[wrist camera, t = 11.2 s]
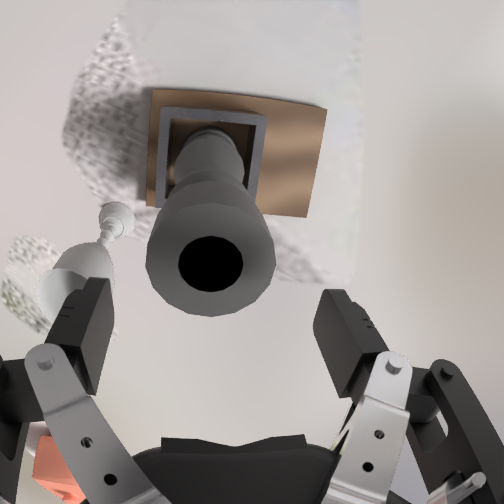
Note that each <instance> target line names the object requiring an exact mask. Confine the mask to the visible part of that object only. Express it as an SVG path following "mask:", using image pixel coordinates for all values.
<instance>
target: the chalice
mask: <svg viewBox="0 0 504 504" xmlns="http://www.w3.org/2000/svg"><path fill="white" fill-rule="evenodd" d="M99 223H100V228H101V231H102V232H101V235H100V237H101V238H99V239H98V240H97V243H96V242H93V243H83V244H79V245H76V246H74V247H71V248H69V249H68V250H66V251H65V252H64V253H63V254H62V256H61V257H60V259H59V260H58V261H57V263H56V264H55V266H54V267H53V269H52V270H48V271H46V272H45V273H44V274H43V275H41V276H40V277H39V279H38V282H37V284H36V299H37V302H38V306H39V307H40V309H41V311H42V313H43V314H44V316H45V317H46V318H47V319H48V320H49V321H50V322H51V323H52V325H53V323H54V321H55V319H56V317H57V316H58V313H59V311H60V309H61V308H62V305H63V303H64V301H65V299H66V297H67V296H68V295H69V294H71V293H72V292H73V291H74V290H75V289H81V290H83V288H84V286H85V284H86V282H87V280H88V278H89V277H101V278H109V279H110V283H111V292H113V289H114V285H115V278H114V269H113V263H112V261H111V258H110V255H109V253H108V249H109V246H110V243H112V242H113V241H114V239H120V238H123V237H126V236H128V235H129V234H130V233H131V232H132V231H133V229H134V227H135V217H134V214H133V212H132V211H131V209H130V208H129V207H128V206H126V205H125V204H123V203H120V202H112V203H108V204H107V205H105V206H104V207H103V208H102V210H101V211H100V215H99Z"/></svg>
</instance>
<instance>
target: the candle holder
mask: <svg viewBox="0 0 504 504" xmlns="http://www.w3.org/2000/svg"><path fill="white" fill-rule="evenodd" d="M173 174H174V179H175V183H176V186H175V187H174V189H173V190H172V192H171V193H170V195H169V197H168V199H167V201H166V203H165V204H164V206H163V207H162V209H161V210H160V212H159V214H158V215H157V218H156V221H155V224H154V227H153V230H152V232H151V235H150V238H149V241H148V245H147V255H146V265H145V266H146V270H147V273H148V275H149V278H150V281H151V284H152V286H153V288H154V289H155V290H156V291H157V292H158V293H159V294H160V295H161V297H162V298H163V299H164V300H165V301H166V302H167V303H168V304H170V305H172V306H174V307H176V308H178V309H180V310H182V311H184V312H186V313H188V314H194V315H201V316H209V317H214V316H220V315H225V314H231V313H235V312H237V311H239V310H240V309H242V308H244V307H246V306H248V305H250V304H252V303H253V302H255V301H256V300H257V299H258V298H259V296H260V295H261V294H262V293H263V292H264V291H265V289H266V288H267V287H268V286H269V285H270V282H271V279H272V276H273V273H274V270H275V266H276V258H275V250H274V243H273V240H272V237H271V235H270V232H269V230H268V227H267V225H266V222H265V220H264V218H263V215H262V213H261V212H260V210H259V208H258V207H257V205H256V204H255V202H254V201H253V199H252V198H251V196H250V194H249V193H248V191H247V190H246V188H245V187H244V185H243V184H242V181H243V177H244V167H243V160H242V158H241V157H240V155H239V153H238V152H237V146H236V144H235V142H234V140H233V139H232V137H231V136H230V134H229V133H228V132H226V131H225V130H223V129H222V128H220V127H216V126H211V125H208V126H203V127H198V128H197V129H195V130H194V131H192V132H191V133H190V134H189V135H188V136H187V138H186V139H185V141H184V142H183V145H182V147H181V152H180V154H179V156H178V157H177V159H176V162H175V167H174V173H173Z"/></svg>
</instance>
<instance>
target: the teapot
mask: <svg viewBox="0 0 504 504" xmlns="http://www.w3.org/2000/svg"><path fill="white" fill-rule="evenodd" d="M32 477H33V479H34V480H35V481H37V482H38V483H39V484H41V485H42V486H43V487H44V488H45V489H47V490H49V491H50V492H52V493H53V494H55V495H56V496H58V497H60V498H61V499H62V500H63V501H64V502H66V503H68V504H80V503H81V502H82V501H83V500H84V499H85V498H86V497H85V495H84V493H83V492H82V490H81V489H80V487H79V485H78V484H77V482H76V480H75V479H74V477H73V475H72V473H71V472H70V470H69V468H68V466H67V464H66V463H65V461H64V459H63V457H62V455H61V453H60V451H59V449H58V447H57V445H56V443H55V441H54V439H53V437H52V436H45V435H41V437H40V439H39V442H38V445H37V450H36V454H35V460H34V467H33V475H32Z"/></svg>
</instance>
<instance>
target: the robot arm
mask: <svg viewBox="0 0 504 504" xmlns="http://www.w3.org/2000/svg"><path fill="white" fill-rule="evenodd" d="M113 326H114V307H113V300H112V292H111V283H110V279H109V278H101V277H89V278H88V280H87V282H86V284H85V286H84V288H83V290H81V289H75V290H74V291H73V292H72V293H71V294H69V295H68V296H67V297H66V299H65V301H64V303H63V305H62V308H61V309H60V311H59V313H58V316H57V317H56V319H55V321H54V323H53V325H52V327H51V329H50V331H49V333H48V336H47V338H46V340H45V342H44V344H40V345H37V346H35V347H34V348H32V349H31V350H30V351H29V352H28V353H27V355H26V357H25V358H24V359H17V360H8V361H3V359H2V357H1V355H0V504H15V502H16V494H17V486H18V479H19V473H20V467H21V462H22V457H23V451H24V446H25V442H26V437H27V433H28V428H29V424H30V422H38V421H45V422H46V425H47V427H48V429H49V431H50V433H51V435H52V437H53V439H54V441H55V443H56V445H57V447H58V449H59V451H60V453H61V455H62V457H63V459H64V461H65V463H66V464H67V466H68V468H69V470H70V472H71V473H72V475H73V477H74V479H75V480H76V482H77V484H78V485H79V487H80V489H81V490H82V492H83V493H84V495H85V497H86V498H85V499H84V500H83V501H82V502H81V503H80V504H411V503H409V502H408V501H406V500H405V499H403V498H402V497H400V496H398V495H397V494H395V493H394V492H392V491H391V490H389V489H390V486H391V483H392V480H393V477H394V473H395V470H396V467H397V463H398V460H399V456H400V453H401V449H402V445H403V441H404V437H405V434H406V436H407V439H408V441H409V444H410V446H411V449H412V451H413V454H414V456H415V458H416V461H417V464H418V467H419V469H420V472H421V475H422V477H423V480H424V482H425V485H426V488H427V491H428V493H429V498H428V500H427V504H504V445H503V444H502V442H501V440H500V438H499V436H498V434H497V432H496V430H495V429H494V427H493V425H492V423H491V421H490V420H489V418H488V416H487V414H486V412H485V411H484V409H483V407H482V406H481V404H480V402H479V400H478V399H477V397H476V395H475V394H474V392H473V390H472V389H471V387H470V386H469V384H468V382H467V381H466V379H465V377H464V376H463V374H462V372H461V371H460V369H459V368H458V367H457V366H456V365H455V364H453V363H452V362H450V361H447V360H444V359H439V360H436V361H434V362H433V363H432V365H431V367H430V368H429V369H424V368H416V367H412V366H411V363H410V362H409V361H408V359H406V358H405V357H404V356H403V355H401V354H398V353H396V352H392V351H390V350H389V349H388V347H387V346H386V344H385V342H384V340H383V339H382V337H381V335H380V334H379V332H378V331H377V329H376V328H375V327H374V324H373V322H372V321H371V320H370V318H369V316H368V314H367V313H366V311H365V310H364V309H363V308H362V307H361V306H359V305H358V304H357V303H356V302H352V301H351V300H350V298H349V296H348V295H347V293H346V291H345V290H343V289H325V290H324V291H323V293H322V296H321V299H320V302H319V305H318V308H317V312H316V315H315V318H314V322H313V331H314V336H315V338H316V341H317V343H318V346H319V348H320V350H321V353H322V356H323V358H324V361H325V363H326V366H327V368H328V371H329V373H330V376H331V378H332V381H333V383H334V386H335V388H336V391H337V393H338V396H339V398H347V397H351V399H352V403H351V405H350V407H349V409H348V411H347V413H346V416H345V418H344V420H343V423H342V425H341V427H340V430H339V432H338V434H337V436H336V438H335V440H334V442H333V444H332V446H331V448H330V449H327V448H324V447H321V446H318V445H313V444H307V443H306V439H305V435H304V434H302V435H293V436H280V437H270V438H267V439H264V440H260V441H256V442H253V443H250V444H245V445H242V446H238V447H233V446H228V445H222V444H217V443H213V442H208V441H204V440H199V439H180V438H161V447H157V448H152V449H148V450H145V451H143V452H140V453H138V454H136V455H134V456H132V457H131V456H130V454H129V453H128V452H127V450H126V449H125V447H124V446H123V445H122V443H121V442H120V440H119V439H118V438H117V436H116V435H115V433H114V432H113V430H112V429H111V427H110V426H109V424H108V423H107V421H106V420H105V418H104V417H103V415H102V413H101V412H100V410H99V409H98V407H97V405H96V404H95V402H94V400H93V399H92V398H91V396H88V395H95V396H96V392H97V388H98V384H99V380H100V375H101V371H102V367H103V363H104V359H105V355H106V351H107V348H108V344H109V341H110V337H111V334H112V330H113ZM87 394H88V395H87ZM439 411H441V413H442V415H443V417H444V419H445V421H446V423H447V425H448V435H447V437H446V436H445V433H444V431H443V429H442V427H441V425H440V423H439V421H438V419H437V417H436V415H437V413H438V412H439Z"/></svg>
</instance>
